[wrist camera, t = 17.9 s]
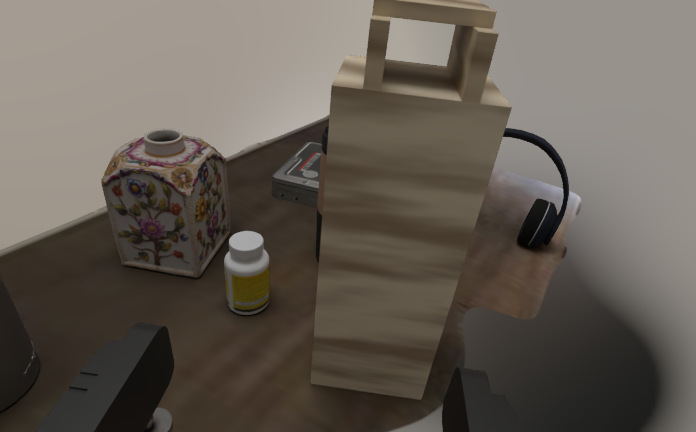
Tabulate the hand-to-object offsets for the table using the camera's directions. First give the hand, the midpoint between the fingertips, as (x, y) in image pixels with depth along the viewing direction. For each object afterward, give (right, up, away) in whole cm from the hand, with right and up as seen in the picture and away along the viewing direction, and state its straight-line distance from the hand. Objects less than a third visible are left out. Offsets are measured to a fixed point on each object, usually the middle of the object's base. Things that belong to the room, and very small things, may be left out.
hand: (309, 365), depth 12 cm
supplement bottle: (-12, -7, +43) cm, 45 cm away
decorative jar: (-24, -1, +51) cm, 56 cm away
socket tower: (+3, -12, +38) cm, 40 cm away
